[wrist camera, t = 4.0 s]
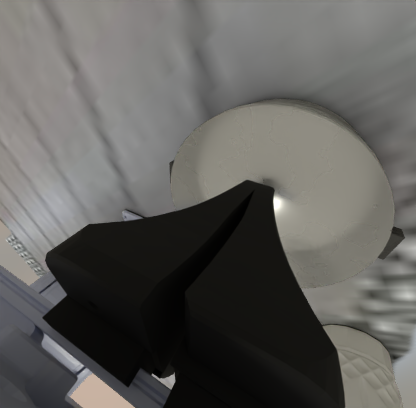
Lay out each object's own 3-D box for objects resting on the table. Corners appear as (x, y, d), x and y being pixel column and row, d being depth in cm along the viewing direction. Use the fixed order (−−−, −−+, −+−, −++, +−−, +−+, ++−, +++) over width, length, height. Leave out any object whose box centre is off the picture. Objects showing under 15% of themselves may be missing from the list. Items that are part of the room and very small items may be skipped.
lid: (323, 301, 16) (321, 328, 15) (179, 237, 20) (167, 253, 19) (475, 135, 8) (512, 157, 6) (174, 83, 12) (150, 88, 10)
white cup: (325, 309, 21) (321, 441, 14) (417, 352, 19) (469, 539, 11) (299, 337, 26) (285, 445, 19) (368, 373, 24) (384, 514, 16)
